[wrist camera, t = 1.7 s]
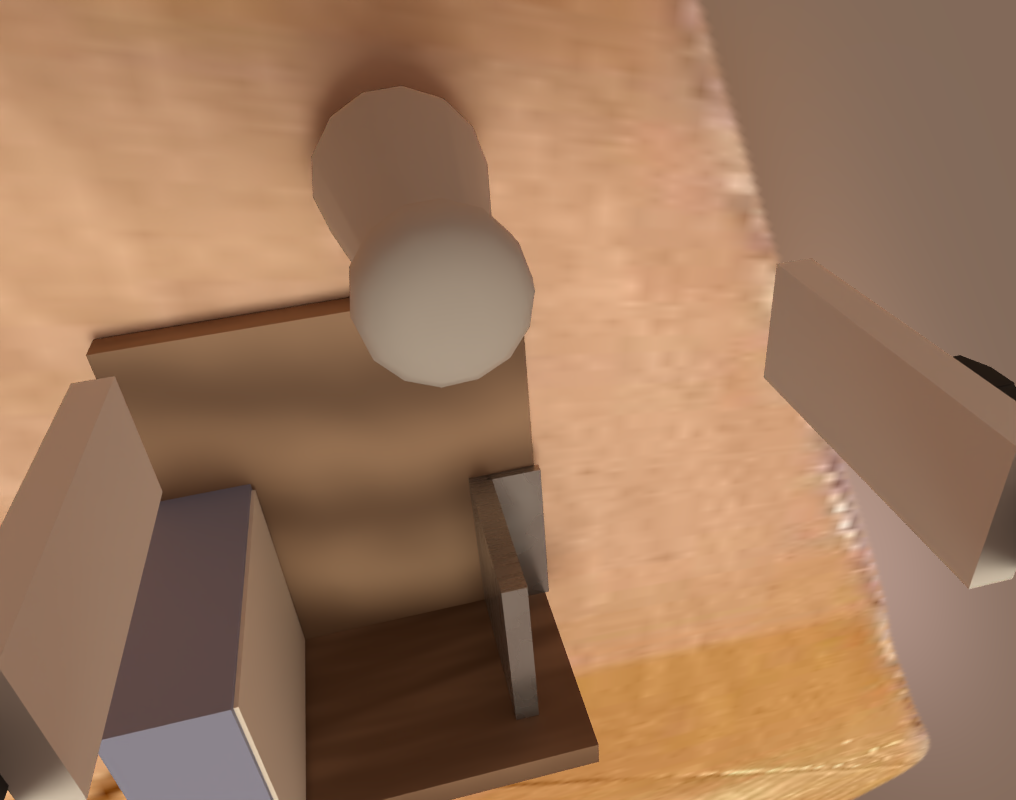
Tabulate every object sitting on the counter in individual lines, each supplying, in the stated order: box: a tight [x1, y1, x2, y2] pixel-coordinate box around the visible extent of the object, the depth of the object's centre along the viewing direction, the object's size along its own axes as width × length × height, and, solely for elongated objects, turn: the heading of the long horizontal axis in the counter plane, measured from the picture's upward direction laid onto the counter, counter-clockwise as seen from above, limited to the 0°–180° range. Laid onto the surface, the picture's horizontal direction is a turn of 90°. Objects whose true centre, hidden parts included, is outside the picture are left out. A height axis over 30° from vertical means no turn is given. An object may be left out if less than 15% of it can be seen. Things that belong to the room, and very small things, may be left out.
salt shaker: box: [311, 86, 535, 388], centre depth 23 cm, size 6×6×13 cm
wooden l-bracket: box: [86, 298, 599, 800], centre depth 31 cm, size 18×16×10 cm
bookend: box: [468, 465, 549, 720], centre depth 34 cm, size 8×3×7 cm, turn 5°
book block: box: [98, 484, 306, 800], centre depth 30 cm, size 10×4×11 cm, turn 5°
